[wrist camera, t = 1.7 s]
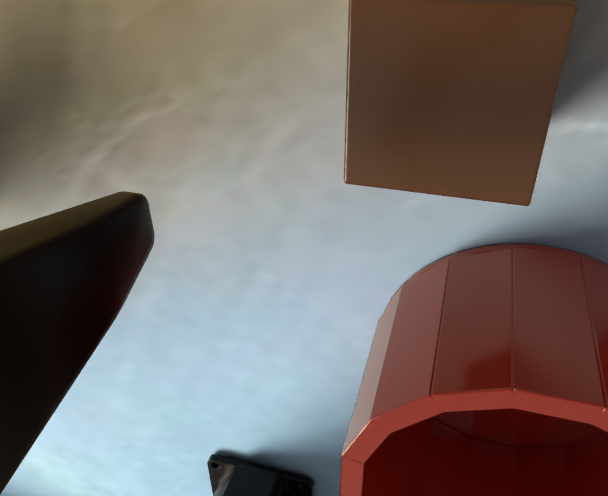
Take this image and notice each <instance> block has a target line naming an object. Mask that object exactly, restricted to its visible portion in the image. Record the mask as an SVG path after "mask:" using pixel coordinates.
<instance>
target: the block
mask: <svg viewBox="0 0 608 496" xmlns="http://www.w3.org/2000/svg"><path fill="white" fill-rule="evenodd" d="M576 11H577V5H576V2H575V0H349V17H348V52H347V87H346V123H345V158H344V182H345V183H346V184H354V185H362V186H370V187H378V188H386V189H394V190H402V191H410V192H418V193H426V194H434V195H442V196H450V197H458V198H466V199H475V200H483V201H491V202H499V203H507V204H515V205H523V206H529V204H530V203H531V198H532V194H533V190H534V186H535V182H536V177H537V173H538V169H539V165H540V161H541V157H542V152H543V148H544V144H545V140H546V136H547V132H548V127H549V123H550V119H551V115H552V111H553V107H554V102H555V98H556V94H557V90H558V86H559V82H560V77H561V73H562V69H563V65H564V61H565V57H566V52H567V48H568V44H569V40H570V36H571V31H572V27H573V23H574V19H575V15H576Z"/></svg>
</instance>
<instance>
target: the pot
mask: <svg viewBox="0 0 608 496" xmlns="http://www.w3.org/2000/svg"><path fill="white" fill-rule="evenodd" d="M340 496H608V265H607V264H605V263H602V262H600V261H598V260H595V259H593V258H591V257H588V256H585V255H582V254H579V253H576V252H572V251H569V250H565V249H560V248H555V247H549V246H543V245H531V244H499V245H491V246H483V247H477V248H473V249H469V250H465V251H461V252H458V253H455V254H452V255H449V256H447V257H444V258H442V259H440V260H438V261H436V262H434V263H432V264H430V265H428V266H426V267H424V268H423V269H421V270H420V271H418V272H417V273H416V274H414V275H413V276H412V277H410V278H409V279H408V280H407V281H406V282H405V283H404V284H403V285H402V286H401V287H400V288H399V289H398V290H397V292H396V293H395V294H394V295H393V296H392V298H391V300H390V301H389V303H388V305H387V307H386V308H385V310H384V313H383V315H382V316H381V317H380V319H379V321H378V324H377V327H376V331H375V335H374V338H373V342H372V345H371V349H370V353H369V356H368V360H367V363H366V367H365V371H364V374H363V378H362V381H361V385H360V389H359V392H358V396H357V400H356V403H355V407H354V410H353V414H352V418H351V421H350V425H349V428H348V432H347V436H346V439H345V443H344V446H343V450H342V454H341V471H340Z"/></svg>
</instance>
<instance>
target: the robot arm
mask: <svg viewBox="0 0 608 496" xmlns="http://www.w3.org/2000/svg"><path fill="white" fill-rule="evenodd" d="M153 244H154V230H153V225H152V219H151V214H150V209H149V204H148V200H147V199H146V197H145V196H144V195H142V194H139V193H132V192H118V193H115V194H112V195H109V196H106V197H103V198H100V199H97V200H94V201H91V202H87V203H84V204H81V205H78V206H75V207H72V208H69V209H66V210H63V211H60V212H57V213H54V214H51V215H48V216H44V217H41V218H38V219H35V220H32V221H29V222H26V223H23V224H20V225H17V226H14V227H11V228H8V229H4V230H1V231H0V494H1V492H2V491H3V489H4V488H5V486H6V485H7V483H8V482H9V480H10V479H11V477H12V476H13V474H14V473H15V471H16V470H17V468H18V467H19V465H20V464H21V462H22V460H23V459H24V457H25V456H26V454H27V453H28V451H29V450H30V448H31V447H32V445H33V444H34V442H35V441H36V439H37V438H38V436H39V435H40V433H41V432H42V430H43V429H44V427H45V425H46V424H47V422H48V421H49V419H50V418H51V416H52V415H53V413H54V412H55V410H56V409H57V407H58V406H59V404H60V403H61V401H62V400H63V398H64V397H65V395H66V393H67V392H68V390H69V389H70V387H71V386H72V384H73V383H74V381H75V380H76V378H77V377H78V375H79V374H80V372H81V371H82V369H83V368H84V366H85V365H86V363H87V361H88V360H89V358H90V357H91V355H92V354H93V352H94V351H95V349H96V348H97V346H98V345H99V343H100V342H101V340H102V339H103V337H104V336H105V334H106V333H107V331H108V329H109V328H110V326H111V325H112V323H113V322H114V320H115V318H116V317H117V315H118V314H119V312H120V310H121V308H122V306H123V304H124V303H125V301H126V299H127V297H128V295H129V293H130V291H131V289H132V287H133V285H134V283H135V281H136V279H137V277H138V275H139V273H140V271H141V269H142V267H143V265H144V263H145V261H146V259H147V257H148V255H149V253H150V251H151V249H152V247H153ZM208 469H209V474H210V480H211V486H212V491H213V496H314V482H313V481H312V480H311V479H310V478H308V477H304V476H300V475H296V474H292V473H288V472H285V471H281V470H277V469H273V468H269V467H265V466H261V465H257V464H253V463H249V462H245V461H241V460H237V459H233V458H229V457H225V456H221V455H217V454H213V455H211V456H210V458H209V460H208Z"/></svg>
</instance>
